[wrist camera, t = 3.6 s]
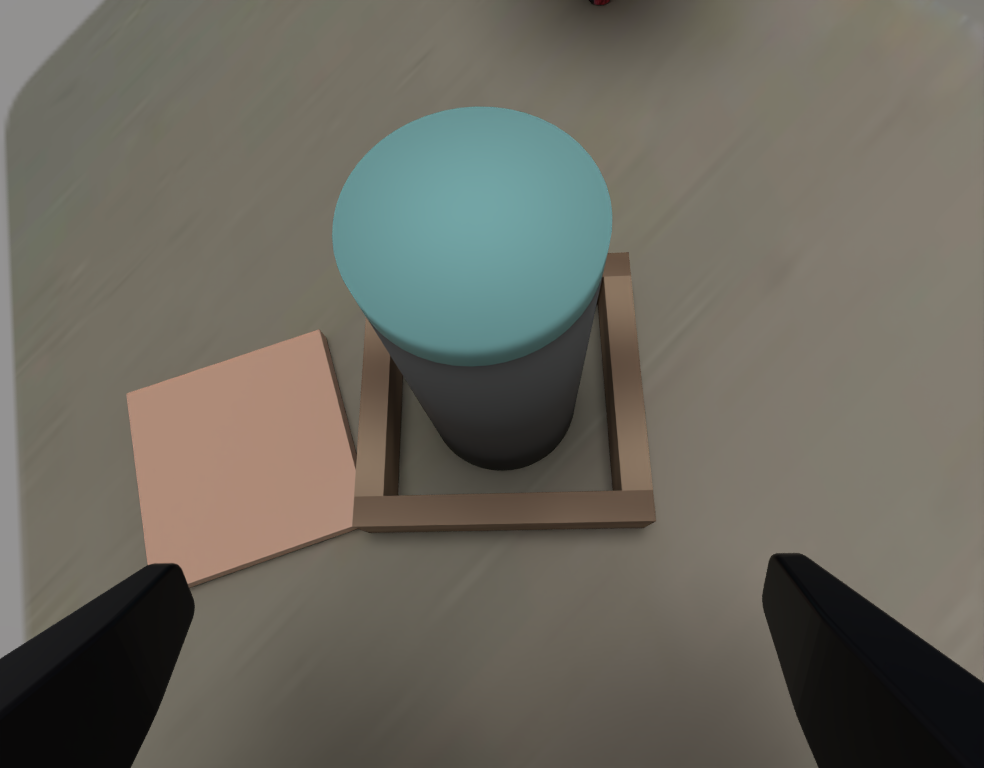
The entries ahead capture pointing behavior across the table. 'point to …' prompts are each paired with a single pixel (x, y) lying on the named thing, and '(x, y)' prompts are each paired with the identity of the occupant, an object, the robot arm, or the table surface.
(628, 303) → the open square brown frame
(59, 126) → the table surface
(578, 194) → the teal-capped grey cylinder
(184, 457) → the coaster
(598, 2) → the lantern
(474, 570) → the table surface
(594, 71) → the table surface
